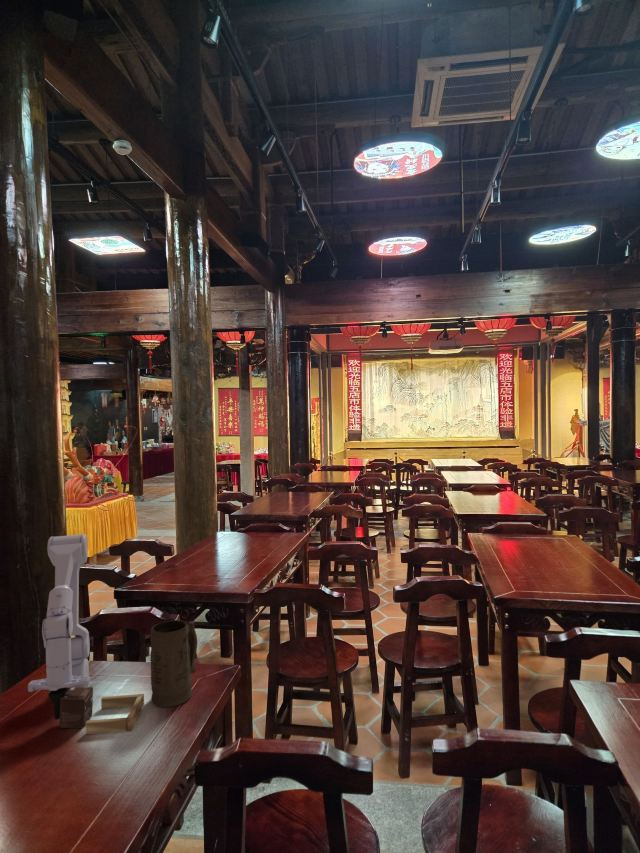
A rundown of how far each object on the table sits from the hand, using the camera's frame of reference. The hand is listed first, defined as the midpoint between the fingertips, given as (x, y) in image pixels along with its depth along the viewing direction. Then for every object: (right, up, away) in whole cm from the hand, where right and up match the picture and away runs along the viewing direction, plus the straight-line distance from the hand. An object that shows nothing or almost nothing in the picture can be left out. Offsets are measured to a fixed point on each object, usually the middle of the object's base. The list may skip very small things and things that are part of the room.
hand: (60, 717), depth 133 cm
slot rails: (+13, -1, +2) cm, 13 cm away
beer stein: (+26, -1, +14) cm, 29 cm away
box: (+4, -2, +1) cm, 4 cm away
